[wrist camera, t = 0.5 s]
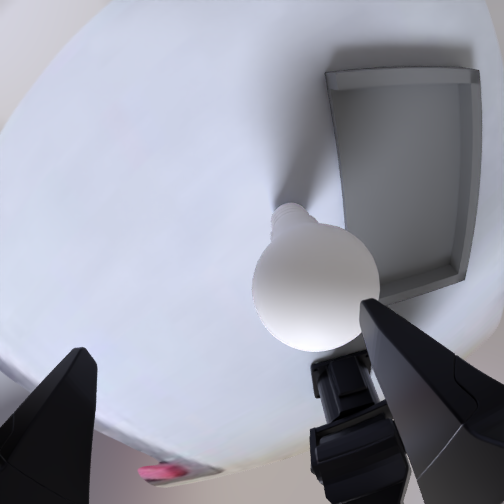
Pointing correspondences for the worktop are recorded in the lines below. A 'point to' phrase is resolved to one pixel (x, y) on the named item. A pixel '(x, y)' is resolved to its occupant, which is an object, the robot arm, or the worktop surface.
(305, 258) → the lightbulb
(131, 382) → the worktop surface
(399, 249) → the tray
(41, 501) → the robot arm
